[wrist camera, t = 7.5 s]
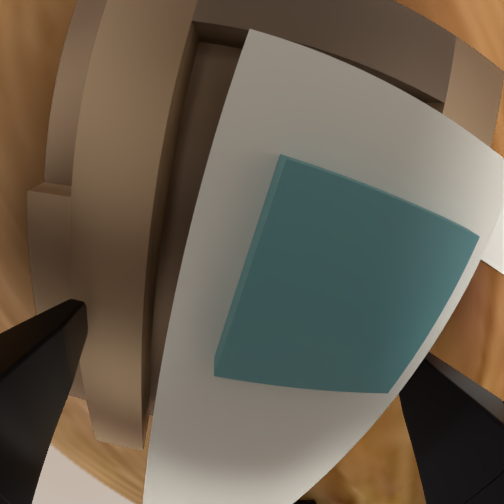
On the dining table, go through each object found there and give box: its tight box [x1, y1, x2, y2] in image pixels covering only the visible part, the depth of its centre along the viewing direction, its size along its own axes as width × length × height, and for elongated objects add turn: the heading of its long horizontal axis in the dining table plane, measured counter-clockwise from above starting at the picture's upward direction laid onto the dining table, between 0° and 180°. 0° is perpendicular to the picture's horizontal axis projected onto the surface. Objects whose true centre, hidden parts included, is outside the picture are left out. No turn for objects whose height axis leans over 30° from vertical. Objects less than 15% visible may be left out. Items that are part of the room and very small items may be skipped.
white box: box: [143, 29, 504, 504], centre depth 8 cm, size 12×4×5 cm, turn 163°
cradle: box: [27, 0, 504, 451], centre depth 9 cm, size 16×14×3 cm
